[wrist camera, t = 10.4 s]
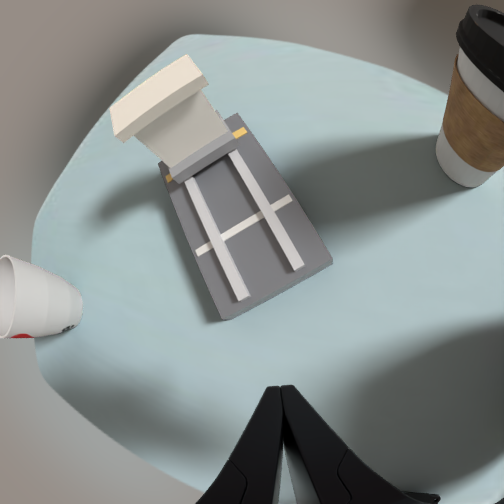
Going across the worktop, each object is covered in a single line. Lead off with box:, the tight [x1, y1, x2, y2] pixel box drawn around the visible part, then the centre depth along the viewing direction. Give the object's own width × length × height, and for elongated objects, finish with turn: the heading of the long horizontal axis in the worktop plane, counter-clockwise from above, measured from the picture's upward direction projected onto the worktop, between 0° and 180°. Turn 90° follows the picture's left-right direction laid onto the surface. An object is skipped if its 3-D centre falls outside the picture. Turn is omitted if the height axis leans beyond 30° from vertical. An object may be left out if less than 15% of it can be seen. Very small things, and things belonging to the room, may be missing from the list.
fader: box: [110, 54, 240, 184], centre depth 20 cm, size 4×7×8 cm, turn 117°
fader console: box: [158, 113, 333, 319], centre depth 23 cm, size 16×9×3 cm, turn 27°
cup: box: [0, 255, 83, 338], centre depth 23 cm, size 8×8×10 cm
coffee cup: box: [436, 5, 504, 187], centre depth 12 cm, size 8×8×15 cm
